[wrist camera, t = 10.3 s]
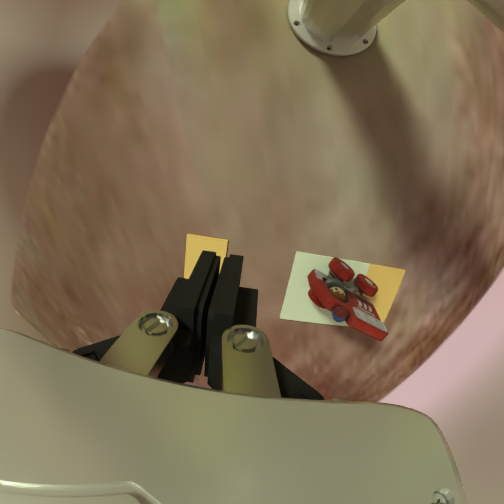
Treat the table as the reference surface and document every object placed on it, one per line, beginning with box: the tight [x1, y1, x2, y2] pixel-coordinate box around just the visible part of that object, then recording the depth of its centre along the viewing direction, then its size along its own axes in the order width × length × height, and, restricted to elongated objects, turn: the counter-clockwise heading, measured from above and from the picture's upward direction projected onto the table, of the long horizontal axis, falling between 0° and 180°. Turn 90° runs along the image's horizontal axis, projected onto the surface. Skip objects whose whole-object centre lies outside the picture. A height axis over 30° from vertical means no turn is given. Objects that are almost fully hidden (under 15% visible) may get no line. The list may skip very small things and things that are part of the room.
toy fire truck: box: [307, 257, 388, 341], centre depth 38 cm, size 7×12×10 cm, turn 59°
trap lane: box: [184, 234, 406, 326], centre depth 44 cm, size 12×35×1 cm, turn 81°
